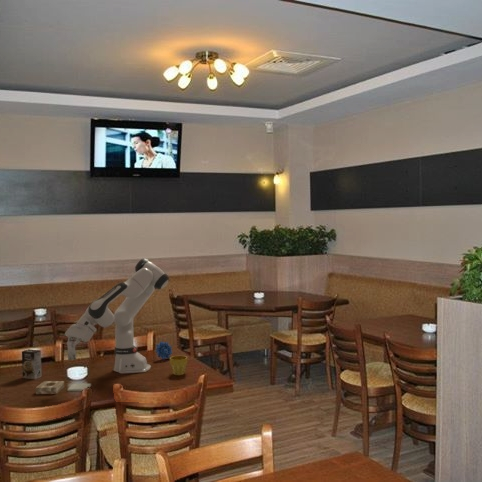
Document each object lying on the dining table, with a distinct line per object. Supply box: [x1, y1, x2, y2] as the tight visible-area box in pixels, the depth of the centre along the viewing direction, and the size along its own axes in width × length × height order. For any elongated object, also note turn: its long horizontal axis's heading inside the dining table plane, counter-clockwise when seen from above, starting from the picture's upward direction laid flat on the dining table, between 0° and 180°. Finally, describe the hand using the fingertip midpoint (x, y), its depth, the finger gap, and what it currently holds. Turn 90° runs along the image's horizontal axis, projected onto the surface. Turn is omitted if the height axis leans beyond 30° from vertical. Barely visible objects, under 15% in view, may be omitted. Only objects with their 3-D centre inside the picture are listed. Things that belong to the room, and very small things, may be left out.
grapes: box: [154, 341, 173, 360], centre depth 379 cm, size 12×7×12 cm, turn 119°
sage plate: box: [67, 383, 92, 392], centre depth 323 cm, size 10×10×1 cm
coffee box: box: [21, 348, 42, 380], centre depth 346 cm, size 9×6×16 cm
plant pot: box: [169, 355, 188, 376], centre depth 346 cm, size 10×10×10 cm
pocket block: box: [35, 380, 65, 395], centre depth 320 cm, size 11×11×4 cm
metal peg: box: [66, 340, 77, 361], centre depth 322 cm, size 4×4×10 cm
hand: (70, 345), depth 321 cm, fingers closed on metal peg, 4 cm apart
